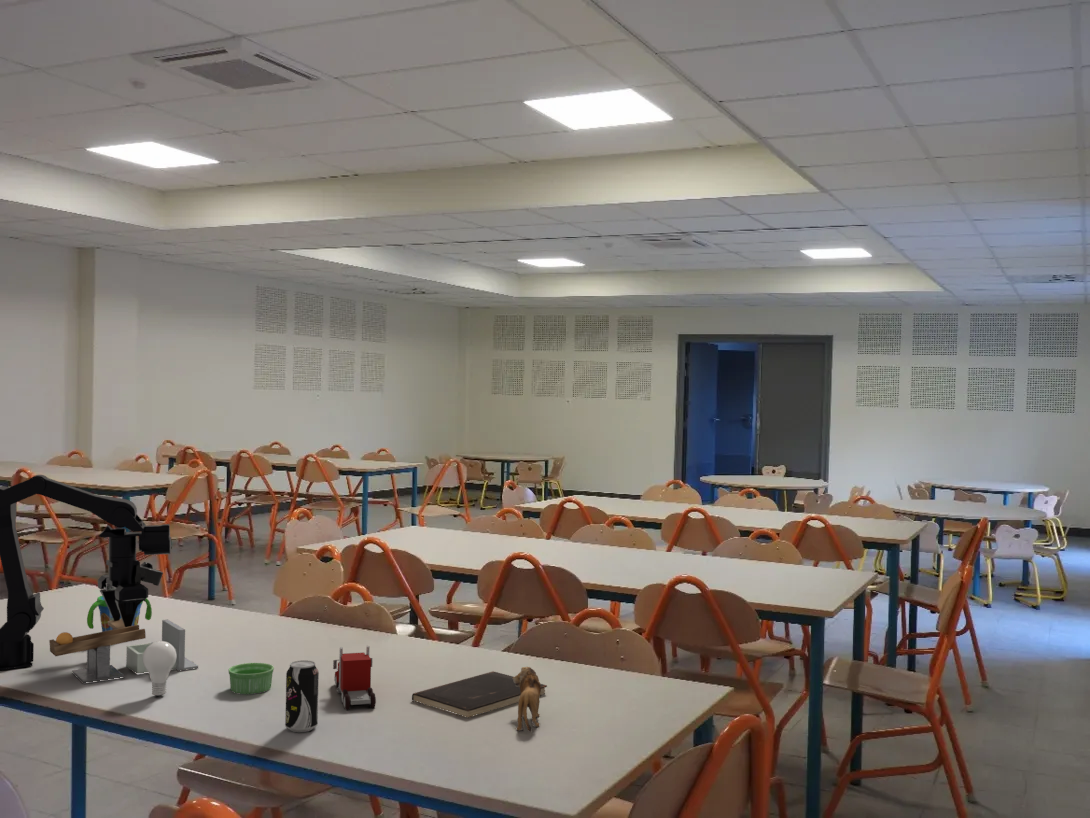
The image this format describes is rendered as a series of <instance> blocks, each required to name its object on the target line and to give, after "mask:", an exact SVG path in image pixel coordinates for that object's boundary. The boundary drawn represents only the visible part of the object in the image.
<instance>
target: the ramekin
mask: <svg viewBox="0 0 1090 818" xmlns="http://www.w3.org/2000/svg"><path fill="white" fill-rule="evenodd" d="M274 669H275V667H274V665H272V664H270V663H264V662H247V663H245V662H244V663H239V664H235V665H233V666H231V667H229V668H228V676H229V683H230V691H231V692H232V691H233V692H232V693H234V692H235V693H234V694H237V693H240V694H239V695H255V694H254V693H257V694H261V693H260V692H262V693H265V692H267V690H268V691H270V690H271V688H272V683H273V672H274ZM264 691H265V692H264Z"/></svg>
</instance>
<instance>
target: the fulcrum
mask: <svg viewBox="0 0 1090 818" xmlns="http://www.w3.org/2000/svg"><path fill="white" fill-rule="evenodd" d="M71 670H72V671H71V673H72V672H73V673H74V674H75V675H76V676H77V677H78V678H79V679H80V680H81V681H82V682H83V683H86V682H93V681H100V680H108V679H114V678H120V677H124V678H125V674H124V673H122V672H121V671H120V670H119V669H117V668H116V667H115V666H114V665H113V664H111V645H106V646H98V647H97V648H95V649H90V650H86V668H85V667H84V668H79V669H71ZM73 673H72V674H73ZM74 674H73V675H74ZM75 675H74V676H75ZM76 676H75V677H76ZM77 677H76V678H77ZM78 678H77V679H78ZM79 679H78V680H79ZM80 680H79V681H80ZM81 681H80V682H81ZM108 681H109V680H108ZM82 682H81V683H82ZM83 683H82V684H83Z"/></svg>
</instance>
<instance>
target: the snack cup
mask: <svg viewBox="0 0 1090 818" xmlns="http://www.w3.org/2000/svg"><path fill="white" fill-rule="evenodd" d="M143 602H145V604H146V610H145V614H144V619H145V620H146V621H150V620H151V619H152V615H153V612H152V610H153V609H152V605H151V604H152V603H151V602H150V600H149V599H148V598H146V600H145V601H142V602H141V603H140V604H139V605H138V607H137V610H136V613H135V616H134V620H133V623H132V626H134V625H139V621H140V614H141V608H142V606H143ZM97 607H98V611H99V618H100V625H101V632H104V631H109V630H114V629H113V628H112V627H110V626H109V625H108V621H112V620H113V617H112V615H111V613H110V611H109V609H108V607H107V604H106V602H105V600H104V598H103V596H102V595H99V596H97V599H96V601H95V602H93V603H92V604H91V606H90V608H89V609H88V612H87V618H86V624H87V626H88V628H89V629H94V614H95V613H94V611H95V610H96V608H97ZM120 619H122V618H121V615H120Z"/></svg>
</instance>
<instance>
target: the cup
mask: <svg viewBox="0 0 1090 818" xmlns="http://www.w3.org/2000/svg"><path fill="white" fill-rule="evenodd" d="M152 643H153V642H149V643H141V644H140V643H139V644H135V645H127V646H126V654H125V655H126V657H125V658H126V659H125V662H126V663H125V666H127V667H126V668H127V669H129V668H130V669H131V670H133V671H134V672H136V673H144V672H148V671H147V669H146V668H145V666H144V664H143V653H144V651H145V649H146V648H147V647H148V646H149V645H150V644H152ZM175 650H176V648H175ZM130 669H129V670H130ZM172 669H175V670H176V662H175V664H174V666H173V667H172ZM131 670H130V671H131ZM133 671H132V672H133ZM134 672H133V673H134Z"/></svg>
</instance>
